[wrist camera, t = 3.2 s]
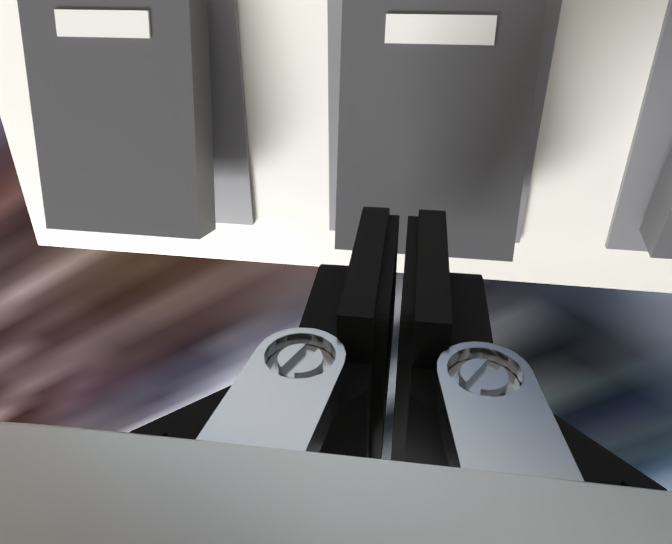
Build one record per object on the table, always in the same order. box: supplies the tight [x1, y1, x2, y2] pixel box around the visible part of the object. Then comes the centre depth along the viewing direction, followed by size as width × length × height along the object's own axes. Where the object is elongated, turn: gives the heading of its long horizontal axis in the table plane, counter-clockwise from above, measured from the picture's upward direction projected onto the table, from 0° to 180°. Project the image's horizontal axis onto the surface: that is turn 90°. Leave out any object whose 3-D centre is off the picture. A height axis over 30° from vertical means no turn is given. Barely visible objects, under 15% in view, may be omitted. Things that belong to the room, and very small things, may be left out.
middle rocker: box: [335, 0, 547, 262], centre depth 14 cm, size 4×6×1 cm
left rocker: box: [17, 0, 216, 240], centre depth 15 cm, size 4×6×1 cm
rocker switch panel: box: [0, 0, 672, 293], centre depth 16 cm, size 32×10×4 cm, turn 90°
